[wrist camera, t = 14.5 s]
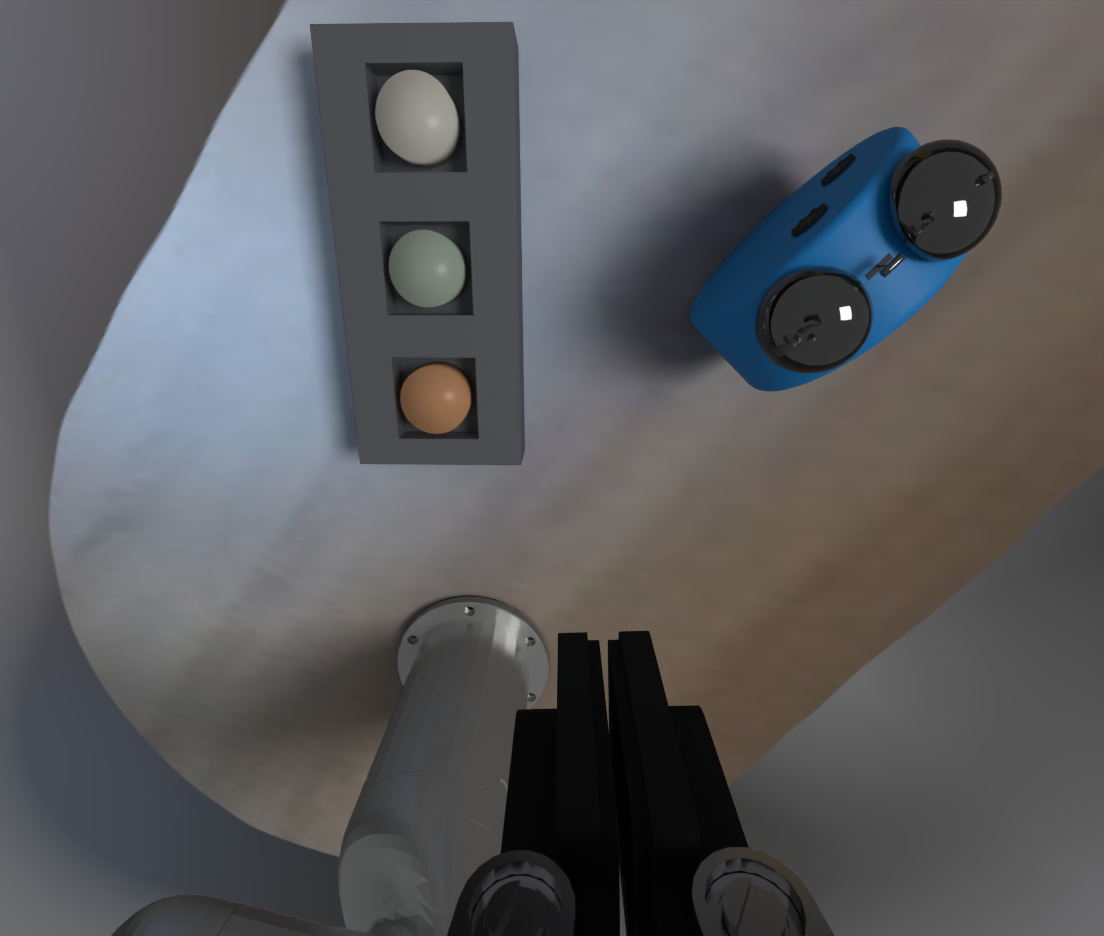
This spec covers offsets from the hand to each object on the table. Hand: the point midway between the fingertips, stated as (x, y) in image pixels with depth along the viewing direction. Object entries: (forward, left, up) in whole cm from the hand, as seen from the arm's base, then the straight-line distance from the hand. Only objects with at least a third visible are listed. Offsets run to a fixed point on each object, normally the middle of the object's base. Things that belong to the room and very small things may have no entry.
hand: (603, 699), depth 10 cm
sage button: (+8, +9, -29) cm, 32 cm away
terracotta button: (0, +9, -29) cm, 31 cm away
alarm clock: (+8, -13, -31) cm, 35 cm away
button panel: (+8, +9, -31) cm, 33 cm away
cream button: (+16, +9, -29) cm, 35 cm away
